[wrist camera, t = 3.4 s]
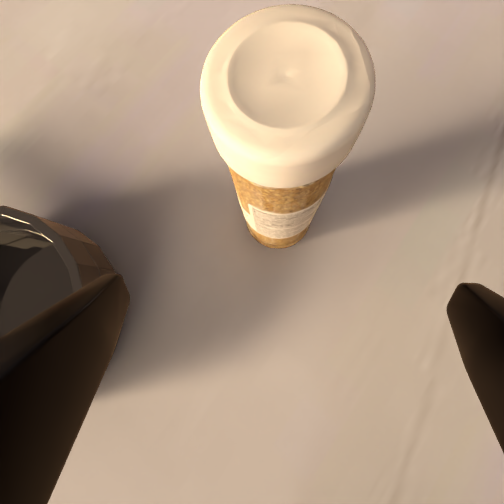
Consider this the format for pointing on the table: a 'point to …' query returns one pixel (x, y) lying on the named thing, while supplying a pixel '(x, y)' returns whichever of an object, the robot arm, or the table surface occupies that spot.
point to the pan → (41, 265)
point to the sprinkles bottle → (286, 111)
